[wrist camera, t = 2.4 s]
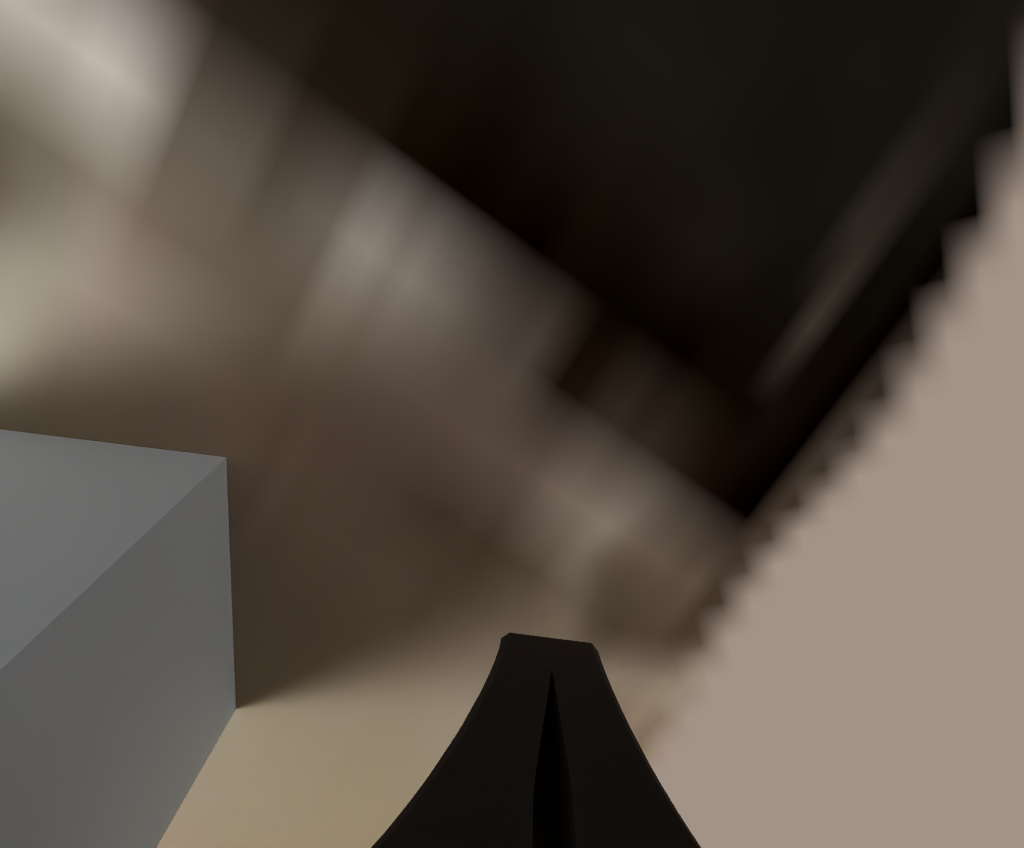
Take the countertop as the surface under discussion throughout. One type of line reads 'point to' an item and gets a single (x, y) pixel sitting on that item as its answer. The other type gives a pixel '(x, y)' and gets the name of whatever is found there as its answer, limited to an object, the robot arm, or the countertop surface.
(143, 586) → the block
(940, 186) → the countertop surface
